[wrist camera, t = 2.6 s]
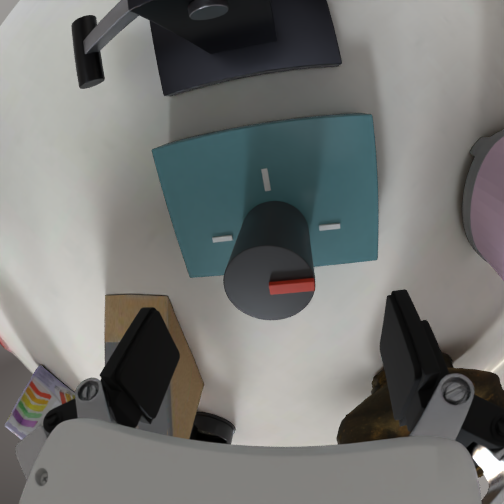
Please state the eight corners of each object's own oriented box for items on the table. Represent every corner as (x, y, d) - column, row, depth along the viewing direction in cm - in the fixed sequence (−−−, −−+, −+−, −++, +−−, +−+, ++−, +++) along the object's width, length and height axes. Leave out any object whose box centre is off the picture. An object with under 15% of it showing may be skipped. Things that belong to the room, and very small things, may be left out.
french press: (242, 437, 42) (222, 551, 22) (195, 434, 44) (167, 538, 24) (221, 407, 36) (188, 548, 16) (166, 403, 38) (124, 527, 18)
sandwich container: (169, 294, 26) (101, 428, 13) (206, 385, 34) (178, 487, 21) (103, 293, 28) (29, 396, 15) (150, 378, 35) (113, 467, 22)
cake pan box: (110, 417, 48) (83, 480, 32) (102, 418, 50) (76, 476, 34) (42, 362, 42) (3, 424, 26) (37, 366, 44) (2, 423, 28)
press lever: (103, 84, 14) (71, 92, 12) (94, 25, 11) (63, 29, 10) (258, -5, 7) (213, -19, 5) (234, -81, 4) (193, -99, 3)
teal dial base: (204, 271, 24) (194, 293, 22) (168, 142, 19) (150, 150, 17) (367, 255, 22) (377, 276, 19) (360, 113, 17) (373, 114, 14)
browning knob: (248, 264, 20) (233, 326, 15) (235, 205, 18) (211, 254, 12) (311, 257, 19) (317, 321, 14) (304, 196, 17) (312, 243, 12)
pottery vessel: (499, 319, 23) (559, 446, 6) (480, 369, 28) (516, 477, 11) (314, 372, 30) (311, 540, 13) (326, 413, 34) (324, 539, 17)
